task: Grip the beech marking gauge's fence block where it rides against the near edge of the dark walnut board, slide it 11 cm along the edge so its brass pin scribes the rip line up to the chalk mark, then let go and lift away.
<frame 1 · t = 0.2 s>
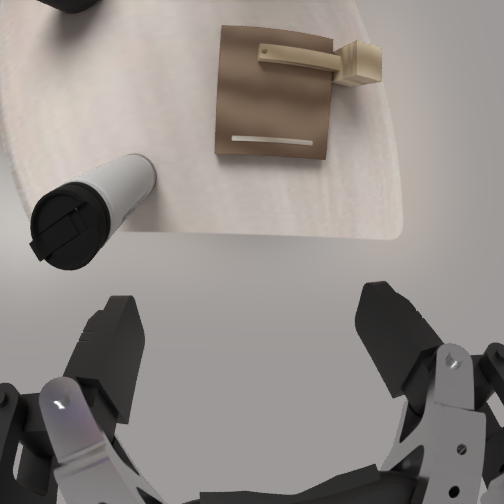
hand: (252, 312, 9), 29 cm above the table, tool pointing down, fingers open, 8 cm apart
travel mug: (133, 176, 34), on the table
marking gauge: (316, 57, 25), point 4 cm above the table, slide at 0.0 cm
walnut board: (273, 91, 30), on the table
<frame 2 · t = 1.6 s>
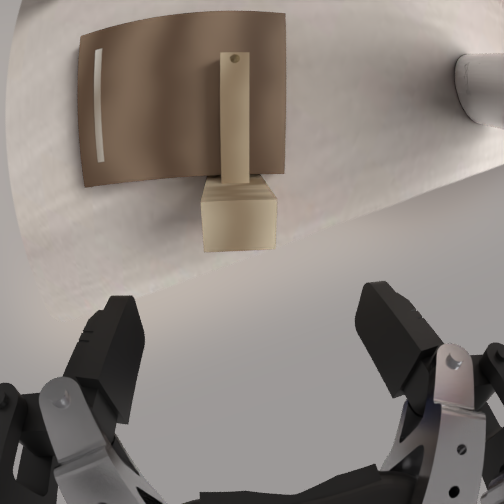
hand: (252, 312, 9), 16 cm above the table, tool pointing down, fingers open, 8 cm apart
marking gauge: (235, 138, 18), point 4 cm above the table, slide at 0.0 cm
walnut board: (178, 93, 19), on the table
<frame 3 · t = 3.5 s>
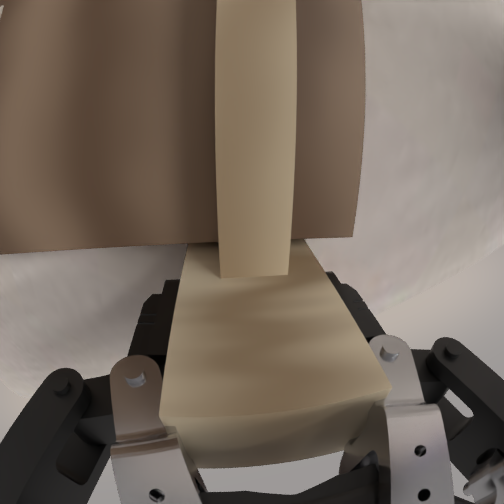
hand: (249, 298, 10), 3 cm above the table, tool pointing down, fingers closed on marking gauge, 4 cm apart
marking gauge: (258, 166, 6), point 4 cm above the table, slide at 0.0 cm, touching gripper
walnut board: (128, 62, 8), on the table
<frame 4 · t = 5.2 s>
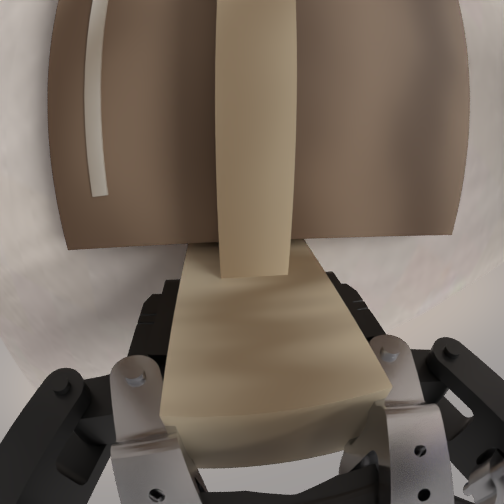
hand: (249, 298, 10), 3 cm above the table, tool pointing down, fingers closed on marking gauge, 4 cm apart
marking gauge: (258, 166, 6), point 4 cm above the table, slide at 5.9 cm, touching gripper
walnut board: (280, 53, 8), on the table
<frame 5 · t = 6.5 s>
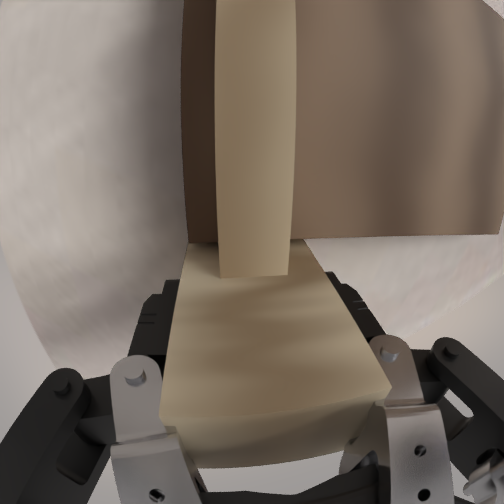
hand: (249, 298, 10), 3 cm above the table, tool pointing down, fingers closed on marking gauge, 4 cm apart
marking gauge: (258, 166, 6), point 4 cm above the table, slide at 10.9 cm, touching gripper
walnut board: (390, 74, 9), on the table
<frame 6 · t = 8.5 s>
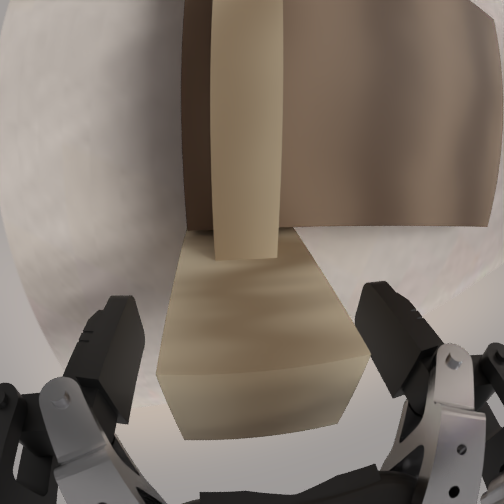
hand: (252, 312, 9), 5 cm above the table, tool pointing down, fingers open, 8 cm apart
marking gauge: (248, 157, 7), point 4 cm above the table, slide at 11.0 cm
walnut board: (377, 73, 10), on the table
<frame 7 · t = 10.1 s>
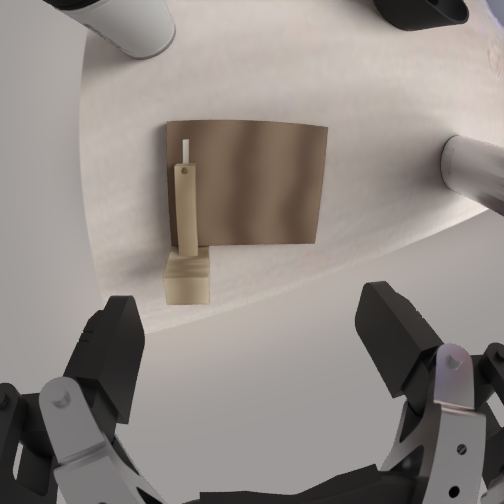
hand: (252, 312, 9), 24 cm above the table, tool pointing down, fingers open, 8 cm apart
travel mug: (148, 34, 21), on the table
marking gauge: (186, 229, 28), point 4 cm above the table, slide at 11.0 cm
walnut board: (245, 181, 31), on the table
pen holder: (396, 6, 21), on the table
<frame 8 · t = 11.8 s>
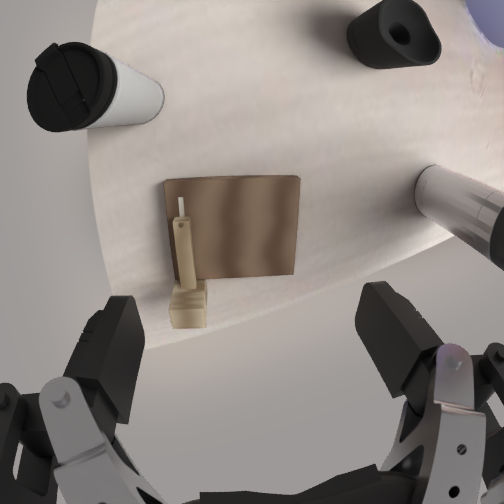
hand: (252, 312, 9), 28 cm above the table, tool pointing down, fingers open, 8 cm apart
travel mug: (141, 99, 29), on the table
marking gauge: (185, 270, 35), point 4 cm above the table, slide at 11.0 cm
walnut board: (232, 226, 38), on the table
pen holder: (371, 43, 27), on the table
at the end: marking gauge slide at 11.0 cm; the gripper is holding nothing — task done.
